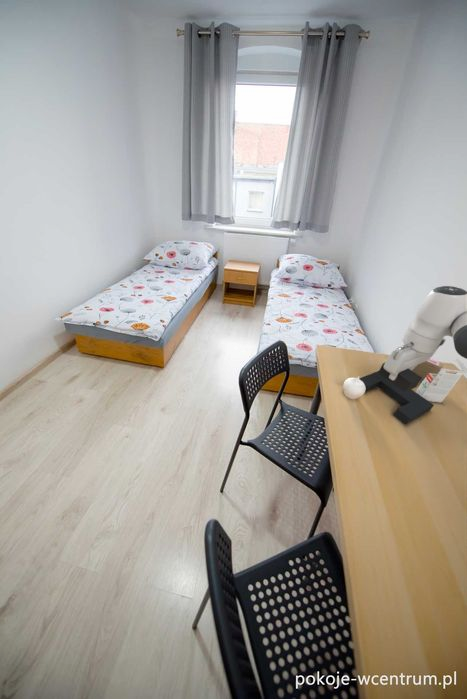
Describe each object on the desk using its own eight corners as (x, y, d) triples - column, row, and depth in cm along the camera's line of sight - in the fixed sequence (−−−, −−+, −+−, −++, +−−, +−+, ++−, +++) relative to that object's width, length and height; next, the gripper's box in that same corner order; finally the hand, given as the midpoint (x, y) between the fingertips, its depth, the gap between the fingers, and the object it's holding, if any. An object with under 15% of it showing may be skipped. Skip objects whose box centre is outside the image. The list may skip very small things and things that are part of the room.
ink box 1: (432, 381, 107) (444, 364, 103) (430, 385, 105) (442, 368, 100) (405, 368, 113) (415, 351, 108) (402, 372, 110) (412, 355, 105)
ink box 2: (414, 393, 100) (435, 361, 92) (436, 396, 100) (459, 364, 92) (418, 400, 97) (441, 367, 89) (441, 403, 97) (465, 371, 89)
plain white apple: (362, 393, 97) (371, 375, 92) (359, 405, 91) (368, 387, 87) (342, 385, 99) (349, 368, 95) (338, 397, 94) (346, 379, 89)
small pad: (416, 387, 88) (422, 377, 85) (405, 392, 85) (411, 382, 83) (388, 368, 94) (393, 359, 92) (377, 372, 92) (382, 363, 89)
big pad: (429, 411, 93) (434, 404, 91) (405, 425, 87) (410, 418, 85) (378, 375, 107) (382, 369, 105) (355, 384, 100) (358, 378, 98)
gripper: (410, 353, 74) (388, 391, 82) (448, 339, 83) (425, 374, 91) (390, 341, 78) (370, 377, 86) (428, 328, 88) (407, 363, 96)
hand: (399, 375), depth 89 cm, fingers closed on small pad, 6 cm apart
